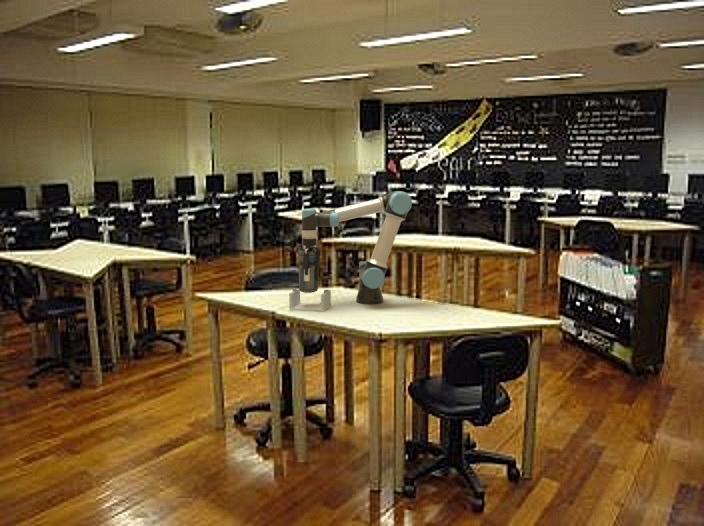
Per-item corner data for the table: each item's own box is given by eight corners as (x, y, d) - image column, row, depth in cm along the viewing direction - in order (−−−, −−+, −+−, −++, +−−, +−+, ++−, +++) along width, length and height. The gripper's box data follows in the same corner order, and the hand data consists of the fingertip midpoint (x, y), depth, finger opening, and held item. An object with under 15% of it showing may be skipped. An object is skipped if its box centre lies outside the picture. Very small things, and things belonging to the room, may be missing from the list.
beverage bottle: (314, 294, 327) (313, 247, 323) (294, 291, 334) (293, 245, 330) (325, 291, 335) (324, 245, 331) (305, 288, 342) (304, 243, 338)
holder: (330, 305, 340) (330, 287, 339) (324, 311, 327) (323, 292, 325) (297, 304, 345) (297, 286, 343) (289, 309, 331) (289, 291, 330)
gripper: (308, 235, 342) (309, 275, 345) (296, 240, 320) (296, 282, 323) (321, 236, 340) (322, 276, 344) (310, 240, 319) (310, 283, 322)
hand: (309, 279), depth 333 cm, fingers closed on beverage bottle, 10 cm apart
